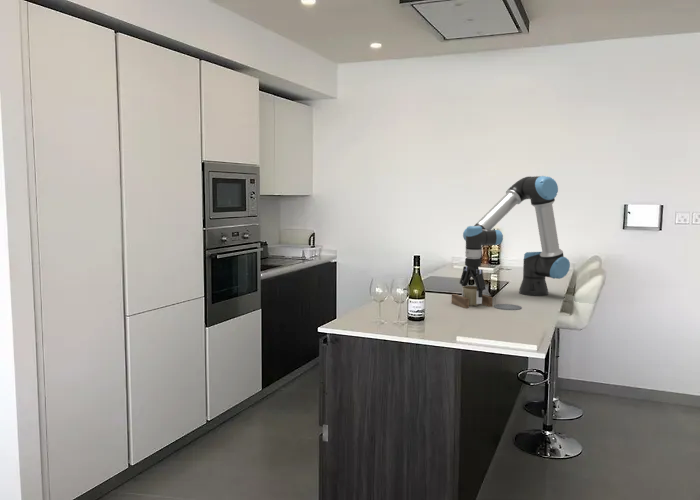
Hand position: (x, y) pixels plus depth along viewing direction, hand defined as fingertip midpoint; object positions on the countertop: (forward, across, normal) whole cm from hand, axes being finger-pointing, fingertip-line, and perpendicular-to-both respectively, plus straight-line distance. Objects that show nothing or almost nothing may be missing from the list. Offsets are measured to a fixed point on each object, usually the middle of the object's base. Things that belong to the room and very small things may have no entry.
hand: (471, 301), depth 290 cm
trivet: (+2, +10, +14) cm, 17 cm away
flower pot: (+2, 0, 0) cm, 2 cm away
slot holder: (+2, 0, 0) cm, 2 cm away
